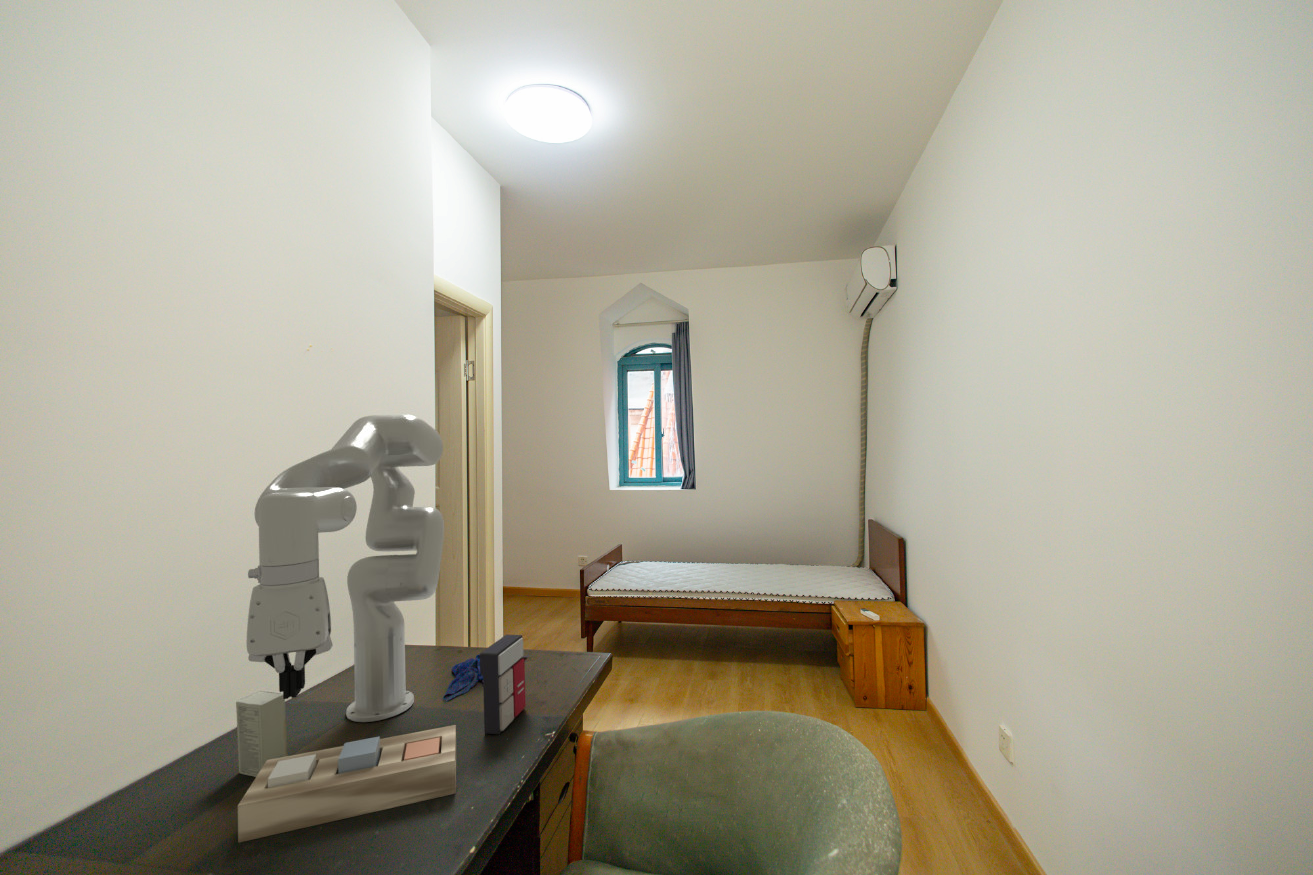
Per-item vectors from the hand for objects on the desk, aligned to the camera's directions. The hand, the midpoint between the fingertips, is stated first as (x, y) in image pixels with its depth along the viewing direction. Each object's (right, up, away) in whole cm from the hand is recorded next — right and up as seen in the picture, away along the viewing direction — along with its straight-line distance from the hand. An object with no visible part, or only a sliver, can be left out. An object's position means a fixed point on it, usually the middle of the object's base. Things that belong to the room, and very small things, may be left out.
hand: (292, 694), depth 83 cm
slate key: (+9, -13, +2) cm, 16 cm away
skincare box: (-12, -18, +10) cm, 23 cm away
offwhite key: (0, -14, -1) cm, 14 cm away
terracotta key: (+17, -14, +5) cm, 23 cm away
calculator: (+26, -17, +24) cm, 39 cm away
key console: (+9, -17, +2) cm, 19 cm away
